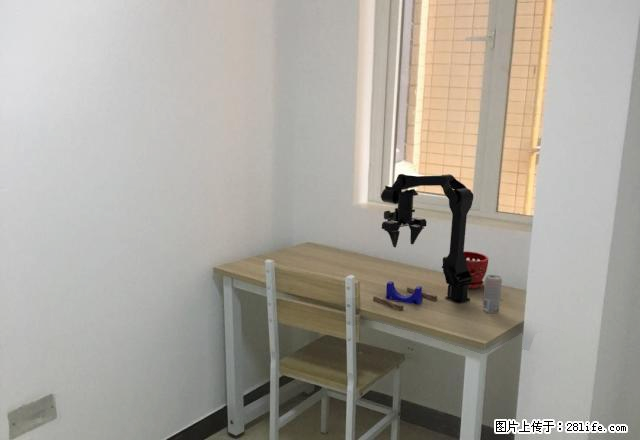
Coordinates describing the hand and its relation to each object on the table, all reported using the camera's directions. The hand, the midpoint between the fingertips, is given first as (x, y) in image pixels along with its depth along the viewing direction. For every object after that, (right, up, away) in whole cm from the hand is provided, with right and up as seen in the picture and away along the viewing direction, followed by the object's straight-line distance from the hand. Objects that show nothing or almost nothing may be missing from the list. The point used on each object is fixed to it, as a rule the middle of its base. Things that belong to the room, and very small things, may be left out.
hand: (403, 245), depth 230 cm
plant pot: (+25, -16, 0) cm, 30 cm away
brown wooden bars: (-2, -18, -19) cm, 26 cm away
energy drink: (+26, -21, -27) cm, 43 cm away
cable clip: (-2, -19, -19) cm, 27 cm away
